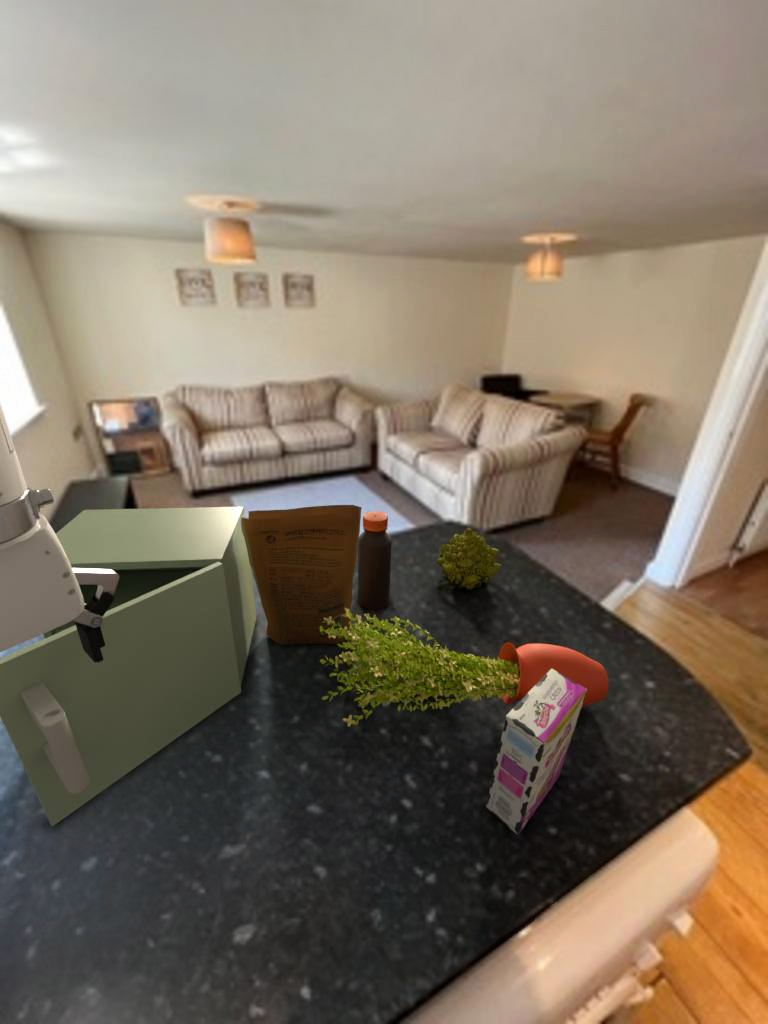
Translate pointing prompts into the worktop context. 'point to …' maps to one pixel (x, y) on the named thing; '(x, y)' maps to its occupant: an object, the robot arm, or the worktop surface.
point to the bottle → (374, 561)
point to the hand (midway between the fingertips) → (38, 683)
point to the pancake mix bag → (303, 568)
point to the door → (119, 689)
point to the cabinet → (165, 556)
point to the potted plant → (449, 668)
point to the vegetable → (467, 561)
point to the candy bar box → (534, 748)
